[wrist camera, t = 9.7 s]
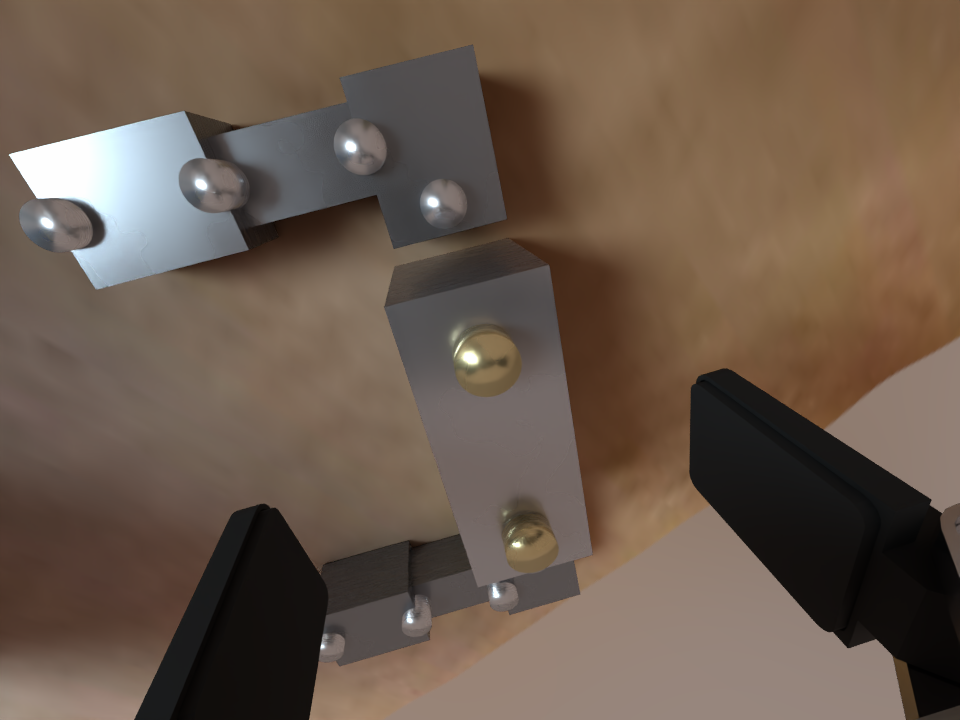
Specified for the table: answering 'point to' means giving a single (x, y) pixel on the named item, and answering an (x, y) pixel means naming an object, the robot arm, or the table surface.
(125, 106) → the table surface
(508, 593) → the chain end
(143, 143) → the chain end
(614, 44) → the table surface
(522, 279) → the link
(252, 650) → the robot arm
